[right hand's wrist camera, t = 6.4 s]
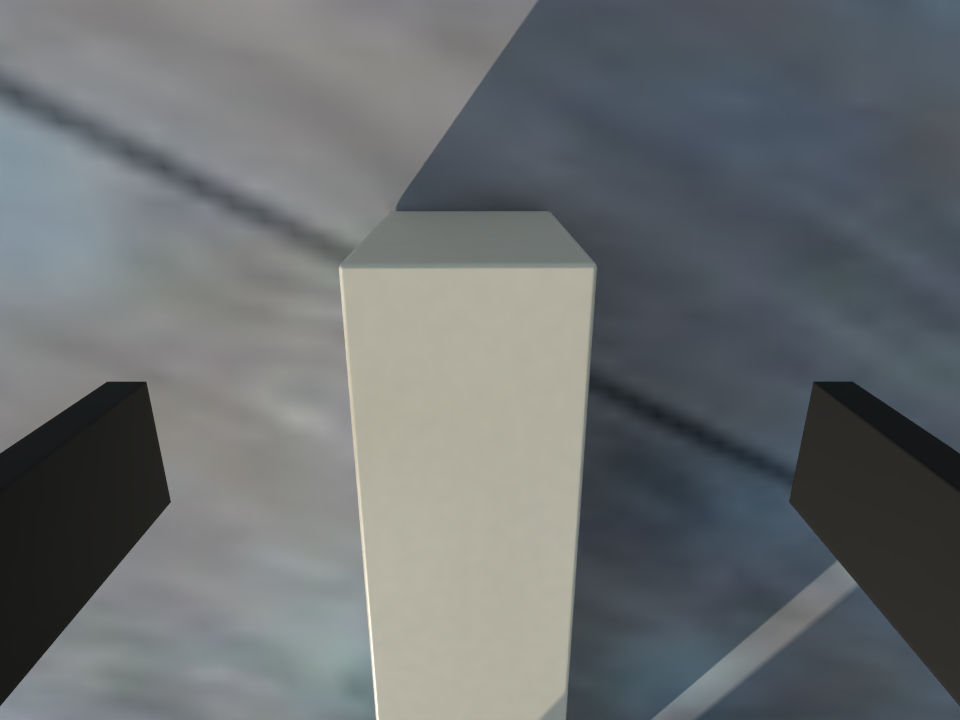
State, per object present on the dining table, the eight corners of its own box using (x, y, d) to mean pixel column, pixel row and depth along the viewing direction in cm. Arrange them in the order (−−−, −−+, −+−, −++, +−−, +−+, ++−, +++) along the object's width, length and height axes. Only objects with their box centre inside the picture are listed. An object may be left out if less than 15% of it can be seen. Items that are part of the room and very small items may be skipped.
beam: (389, 210, 17) (337, 264, 11) (551, 210, 17) (598, 263, 11) (421, 829, 26) (403, 1061, 20) (526, 828, 26) (543, 1059, 20)
